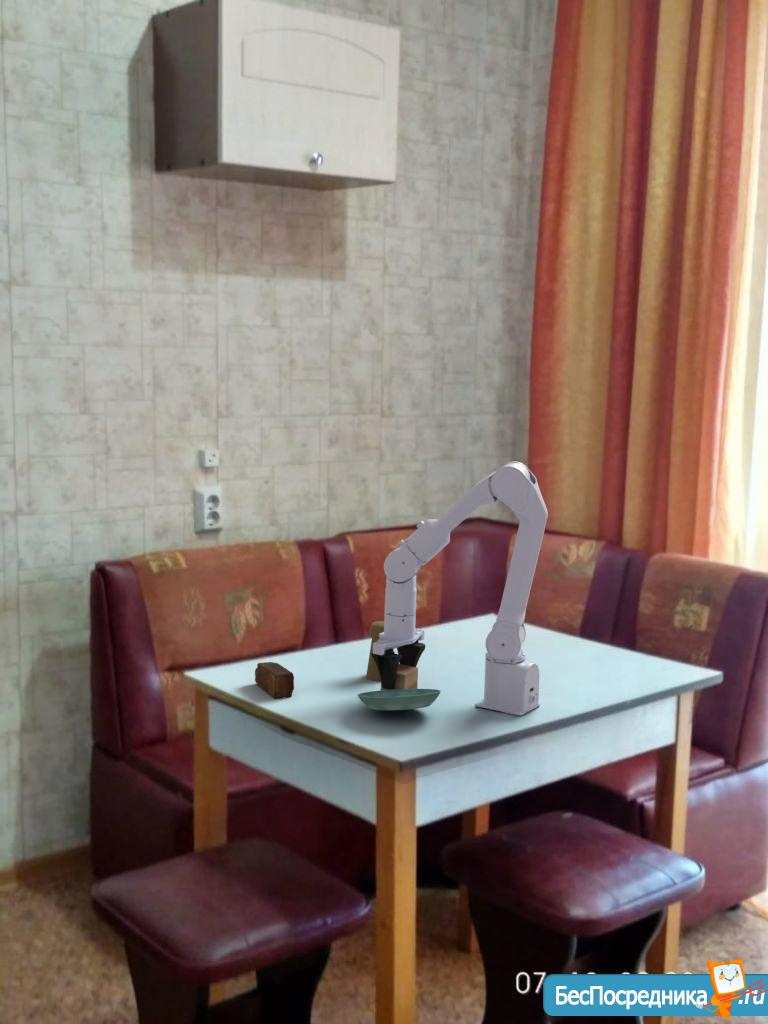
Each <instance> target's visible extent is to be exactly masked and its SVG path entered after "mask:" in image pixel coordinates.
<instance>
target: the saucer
mask: <svg viewBox="0 0 768 1024" xmlns="http://www.w3.org/2000/svg"><path fill="white" fill-rule="evenodd" d="M441 692H442V691H441V690H440V689H435V688H417V689H394V690H381V689H380V690H371V691H364V692H361V693H357V697H358V698H359V700H360V701H361V703H362V704H364V706H366V707H367V708H368V709H370V710H372V711H373V710H374V711H406V710H407V711H408V710H417V709H423V708H428V707H430V706H431V705H432V704H433V703H434V702H435V701H436V700H437V699H438V697H439V696H440V694H441Z"/></svg>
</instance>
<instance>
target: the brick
mask: <svg viewBox="0 0 768 1024" xmlns="http://www.w3.org/2000/svg"><path fill="white" fill-rule="evenodd" d="M254 677H255V678H254V682H255V683H256V684H257V686H258V687H259V688H260V687H261V688H262V691H264V692H265V691H266V692H265V693H266V694H267V695H269V696H270V695H271V696H270V697H272V698H273V699H275V698H278V699H284V698H283V697H286V698H292V697H293V696H292V695H293V692H294V690H295V682H294V680H295V676H294V673H293V672H292V671H290V670H289V669H287V668H286V667H284V666H283V665H281V664H280V663H277V662H273V661H269V662H268V661H266V662H264V661H263V662H258V663H257V664H256V668H255V670H254ZM261 688H260V689H261Z"/></svg>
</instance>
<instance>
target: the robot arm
mask: <svg viewBox="0 0 768 1024" xmlns="http://www.w3.org/2000/svg"><path fill="white" fill-rule="evenodd" d="M498 500H499V501H500V502H502V503H504V504H505V505H506V506H508V507H509V508H510V510H511V511H512V512H513V514H514V515H515V517H516V518H517V519H518V520H519V525H518V529H517V533H516V537H515V542H514V546H513V550H512V555H511V559H510V564H509V568H508V572H507V576H506V580H505V585H504V589H503V594H502V597H501V601H500V607H499V609H498V612H497V616H496V620H495V621H494V624H493V625H492V627H491V631H489V633H488V634H487V636H486V638H485V650H486V651H487V652H486V653H485V661H484V665H485V666H484V691H483V699H480V700H479V701H477V702H475V703H474V707H478V708H483V709H487V710H492V711H497V712H502V713H504V714H505V713H506V714H511V715H516V716H524V715H525V714H526V713H528V712H530V711H532V710H534V709H536V708H537V707H539V706H541V702H539V695H540V690H539V689H540V669H539V666H538V665H537V663H534V662H530V661H528V660H527V659H526V654H525V653H524V651H523V649H522V646H523V643H524V642H525V639H526V636H527V632H526V627H525V618H526V612H527V606H528V602H529V598H530V595H531V594H530V593H531V589H532V584H533V581H534V576H535V572H536V567H537V564H538V559H539V556H540V555H539V554H540V551H541V547H542V542H543V538H544V534H545V529H546V525H547V521H548V517H549V516H548V514H549V512H548V511H549V510H548V508H547V506H546V503H545V500H544V498H543V496H542V492H541V490H540V486H539V484H538V479H537V477H536V476H535V475H534V474H533V472H532V471H531V470H530V469H529V468H528V467H527V465H525V464H524V463H522V462H519V461H508V462H506V463H504V464H503V465H502V466H501V467H500V468H498V469H497V470H496V471H493V472H492V473H491V474H489V475H487V476H486V477H485V478H483V479H481V480H480V481H478V482H477V483H476V484H475V485H473V486H472V487H471V488H470V489H469V490H468V491H467V492H466V493H464V495H463V496H462V497H461V498H459V500H457V501H456V503H454V504H453V505H452V506H451V507H450V508H449V509H448V510H447V511H446V512H445V513H444V514H443V515H442V516H441V517H440V518H438V519H437V518H436V519H435V518H428V519H426V521H423V520H421V521H419V523H418V524H416V528H417V529H416V530H414V532H413V533H411V534H410V535H409V536H408V537H407V538H406V539H401V540H400V541H399V542H398V543H397V545H398V546H399V547H397V548H396V549H394V550H392V551H390V552H389V554H388V555H387V556H386V558H385V560H384V563H383V571H384V574H385V576H386V580H385V581H386V582H385V583H386V584H385V596H384V620H383V621H384V632H382V633H380V634H379V637H380V639H379V640H378V641H377V642H375V643H373V650H372V652H371V655H372V657H373V659H374V661H375V663H376V665H377V667H378V670H379V674H380V678H381V681H380V684H381V683H382V687H383V688H384V689H389V690H393V689H394V686H395V680H396V672H397V668H398V665H399V664H403V665H407V666H412V667H417V666H418V663H419V661H420V658H421V656H422V654H423V653H424V652H425V650H426V644H425V643H424V642H423V643H422V641H424V640H425V629H421V628H416V619H417V618H416V614H417V591H418V589H417V573H418V572H419V571H420V569H421V566H424V565H427V564H428V562H430V561H431V560H432V559H433V558H435V556H436V555H437V554H439V553H440V552H441V551H442V550H443V549H444V548H445V547H446V546H448V545H449V544H450V542H451V532H452V531H453V530H454V529H456V527H458V526H459V525H460V524H462V522H463V521H465V520H466V519H467V518H469V516H470V515H472V514H473V513H474V512H475V511H476V510H477V509H479V508H480V507H481V506H483V505H484V506H485V505H490V504H495V503H496V502H497V501H498ZM419 641H420V642H419ZM393 649H394V650H395V649H396V651H397V653H395V651H394V652H393Z"/></svg>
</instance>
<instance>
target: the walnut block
mask: <svg viewBox="0 0 768 1024" xmlns="http://www.w3.org/2000/svg"><path fill="white" fill-rule="evenodd" d="M418 677H419V667H417V666H416V667H412V666H407V665H403V664H400V663H399V665H398V668H397V672H396V680H395V686H394V689H418ZM394 689H393V690H394ZM381 690H389V689H384V688H383V687H382V683H381V682H380V691H381Z"/></svg>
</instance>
